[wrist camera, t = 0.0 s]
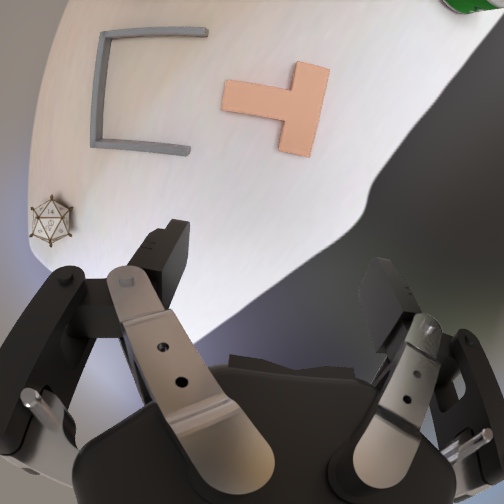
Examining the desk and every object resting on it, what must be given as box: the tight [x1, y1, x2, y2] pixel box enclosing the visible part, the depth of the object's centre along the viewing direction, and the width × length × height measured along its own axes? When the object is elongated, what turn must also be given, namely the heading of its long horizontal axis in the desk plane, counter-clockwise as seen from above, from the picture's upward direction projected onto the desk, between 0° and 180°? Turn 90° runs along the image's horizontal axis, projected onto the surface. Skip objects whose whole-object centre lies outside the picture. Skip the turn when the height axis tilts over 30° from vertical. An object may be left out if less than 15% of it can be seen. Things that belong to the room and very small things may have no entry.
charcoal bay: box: [90, 27, 208, 156], centre depth 33 cm, size 18×16×2 cm
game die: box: [29, 195, 73, 247], centre depth 41 cm, size 9×8×10 cm
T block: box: [221, 61, 330, 158], centre depth 33 cm, size 12×12×3 cm
